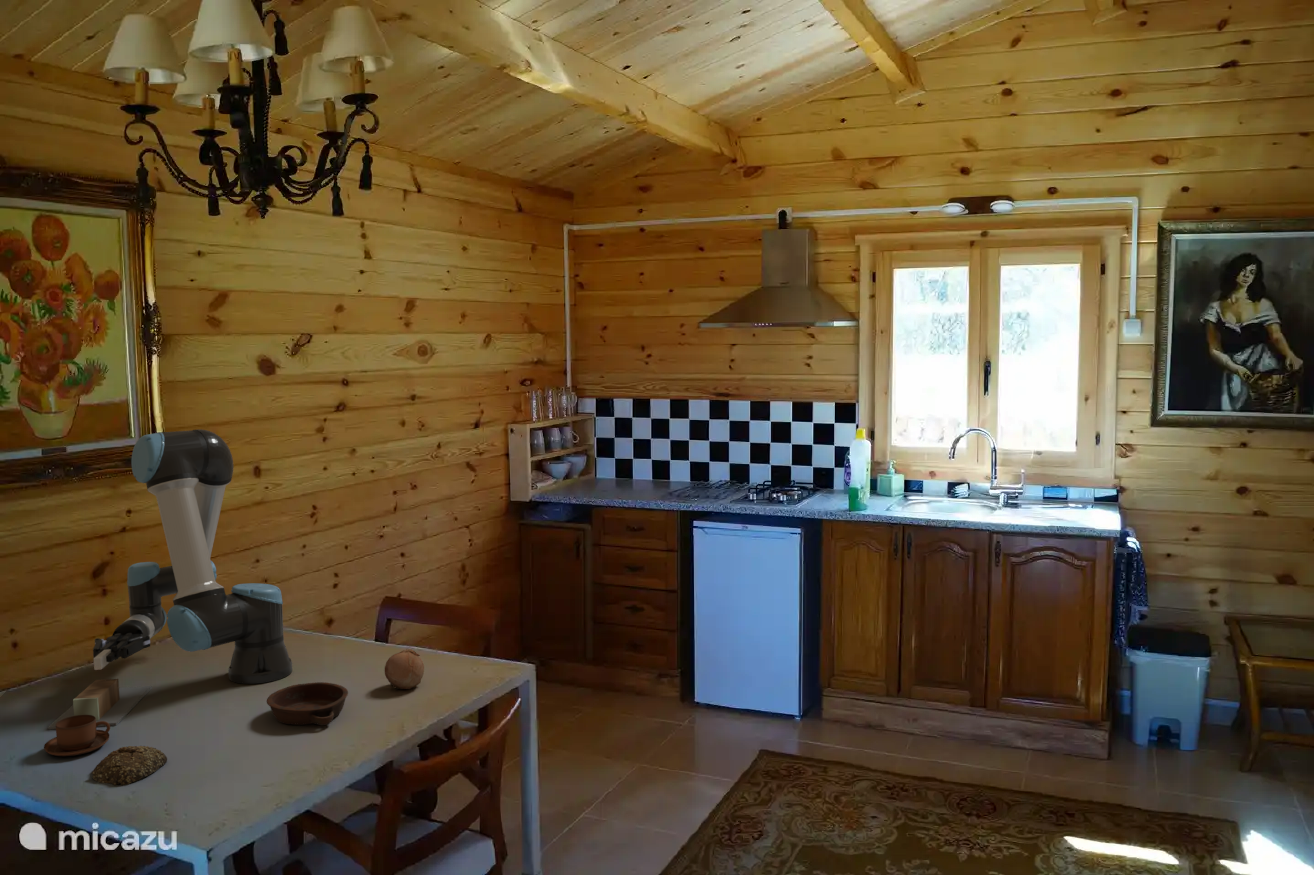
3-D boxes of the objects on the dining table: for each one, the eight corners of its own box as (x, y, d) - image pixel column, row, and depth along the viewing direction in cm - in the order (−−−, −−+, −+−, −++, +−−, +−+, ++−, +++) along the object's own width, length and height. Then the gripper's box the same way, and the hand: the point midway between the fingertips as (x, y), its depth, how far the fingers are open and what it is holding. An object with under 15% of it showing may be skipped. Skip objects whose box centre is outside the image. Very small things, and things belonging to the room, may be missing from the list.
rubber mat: (152, 688, 250) (151, 685, 250) (116, 725, 227) (116, 722, 227) (90, 691, 248) (90, 689, 248) (48, 729, 225) (48, 726, 225)
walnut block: (118, 678, 241) (97, 698, 228) (119, 699, 241) (98, 719, 228) (95, 679, 240) (73, 699, 227) (97, 700, 240) (74, 721, 228)
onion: (411, 693, 254) (421, 653, 257) (424, 694, 246) (434, 652, 250) (375, 685, 250) (385, 645, 253) (386, 686, 242) (397, 644, 245)
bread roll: (176, 762, 208) (175, 739, 207) (130, 789, 196) (128, 764, 195) (125, 756, 211) (123, 732, 211) (76, 781, 199) (74, 757, 199)
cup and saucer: (99, 733, 223) (98, 706, 222) (117, 749, 214) (116, 721, 214) (37, 749, 214) (35, 721, 214) (53, 766, 206) (51, 737, 205)
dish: (285, 740, 219) (284, 718, 218) (254, 710, 236) (253, 689, 235) (364, 721, 229) (363, 699, 229) (328, 693, 246) (328, 673, 246)
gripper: (161, 646, 259) (128, 678, 236) (106, 649, 257) (68, 681, 234) (159, 618, 259) (126, 646, 235) (104, 620, 257) (65, 649, 233)
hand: (97, 663), depth 235 cm, fingers closed
